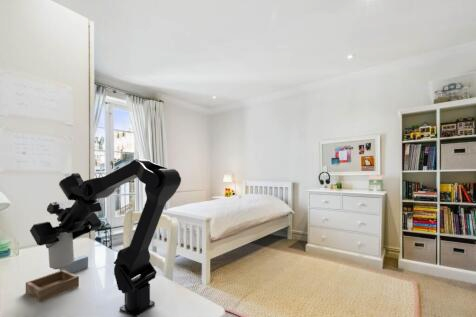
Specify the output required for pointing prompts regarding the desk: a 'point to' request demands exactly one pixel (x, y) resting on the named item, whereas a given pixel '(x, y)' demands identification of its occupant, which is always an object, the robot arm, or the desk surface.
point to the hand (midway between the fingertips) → (57, 243)
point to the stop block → (77, 264)
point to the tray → (51, 285)
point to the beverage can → (62, 252)
